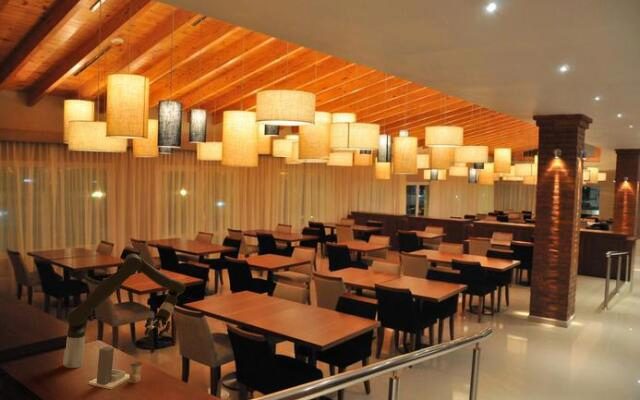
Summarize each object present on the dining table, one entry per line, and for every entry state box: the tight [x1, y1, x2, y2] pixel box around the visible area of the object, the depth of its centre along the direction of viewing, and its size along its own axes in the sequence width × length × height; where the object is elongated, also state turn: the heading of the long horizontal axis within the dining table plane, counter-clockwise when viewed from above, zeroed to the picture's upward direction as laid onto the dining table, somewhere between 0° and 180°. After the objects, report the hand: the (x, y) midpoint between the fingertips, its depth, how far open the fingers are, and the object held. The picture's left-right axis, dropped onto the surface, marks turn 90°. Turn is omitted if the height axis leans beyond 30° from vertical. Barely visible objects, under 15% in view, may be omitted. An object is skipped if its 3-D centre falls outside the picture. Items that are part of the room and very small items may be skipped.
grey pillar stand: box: [88, 346, 130, 390], centre depth 261 cm, size 14×18×19 cm
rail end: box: [128, 361, 143, 384], centre depth 263 cm, size 4×4×10 cm
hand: (152, 336), depth 275 cm, fingers open, 8 cm apart
